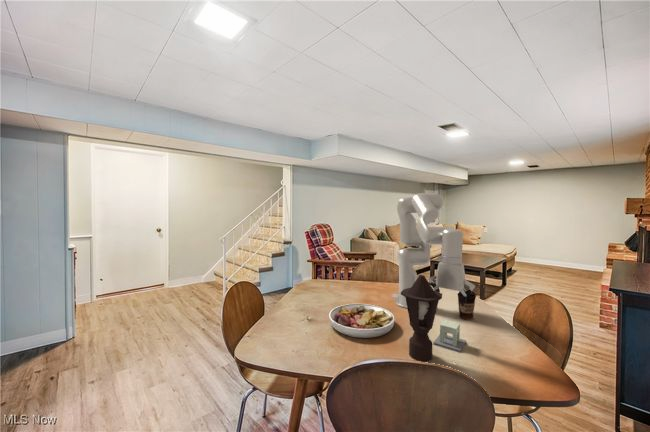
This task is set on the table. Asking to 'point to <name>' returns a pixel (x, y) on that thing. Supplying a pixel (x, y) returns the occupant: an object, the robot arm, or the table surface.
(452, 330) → the notched sage block
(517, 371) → the table surface
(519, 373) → the table surface
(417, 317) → the lantern
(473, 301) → the coffee cup
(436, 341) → the felt pad
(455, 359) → the table surface
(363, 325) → the bowl
